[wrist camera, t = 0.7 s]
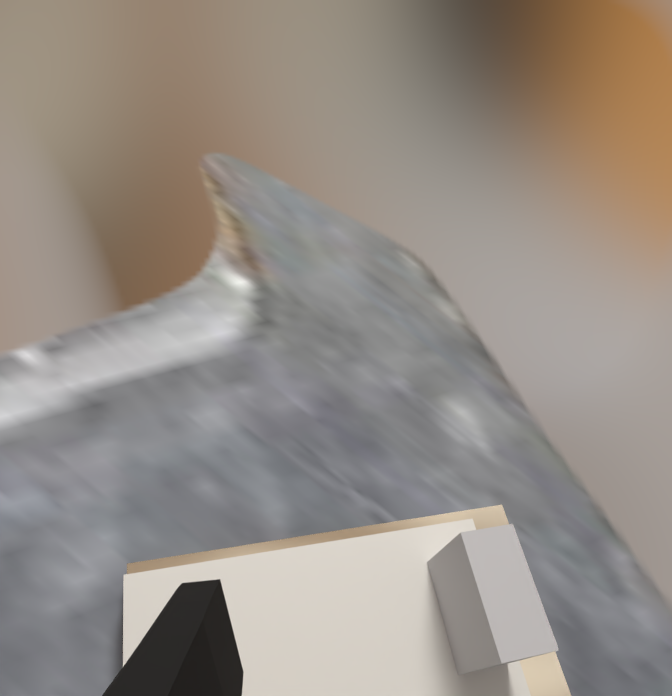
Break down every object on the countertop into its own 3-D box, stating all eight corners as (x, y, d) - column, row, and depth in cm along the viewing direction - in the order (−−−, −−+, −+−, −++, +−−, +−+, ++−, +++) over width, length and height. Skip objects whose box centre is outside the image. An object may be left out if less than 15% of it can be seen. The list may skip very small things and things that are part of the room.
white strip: (524, 705, 21) (592, 698, 17) (125, 807, 18) (96, 826, 14) (465, 524, 24) (511, 484, 21) (127, 579, 21) (103, 544, 17)
